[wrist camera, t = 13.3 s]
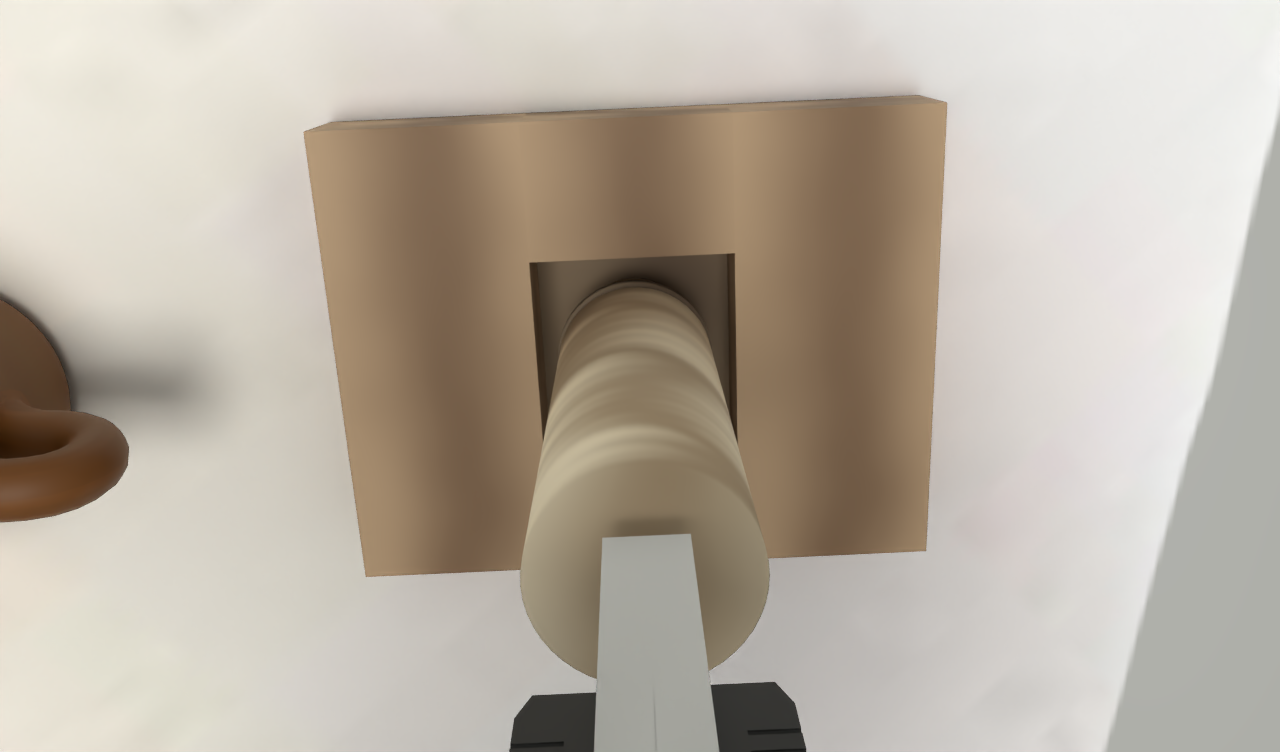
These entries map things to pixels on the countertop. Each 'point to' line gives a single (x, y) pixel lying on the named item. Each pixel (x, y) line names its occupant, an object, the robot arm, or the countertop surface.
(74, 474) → the mug
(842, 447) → the board
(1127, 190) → the countertop surface
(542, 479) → the leg
